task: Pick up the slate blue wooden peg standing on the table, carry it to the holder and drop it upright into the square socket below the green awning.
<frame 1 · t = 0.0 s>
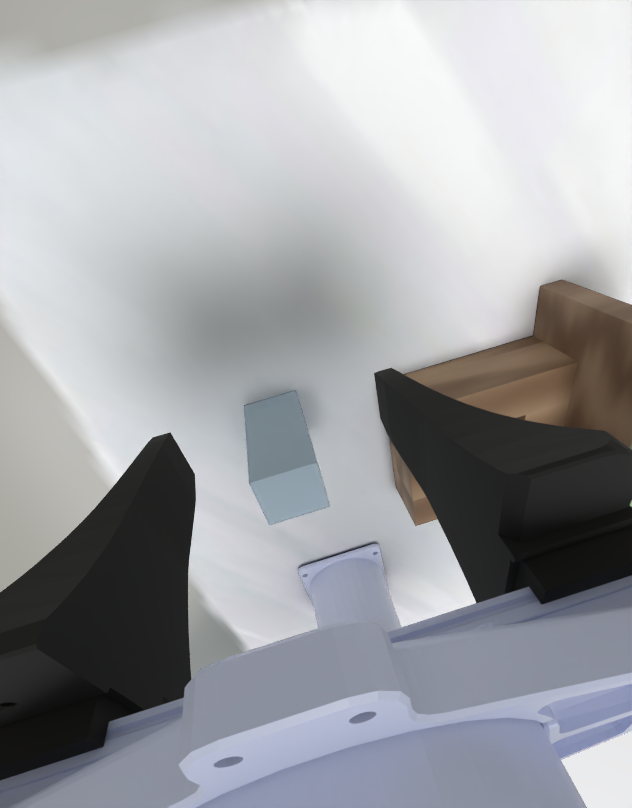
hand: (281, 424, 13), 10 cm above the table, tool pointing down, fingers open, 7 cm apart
socket holder: (457, 419, 28), on the table
peg: (277, 418, 25), on the table
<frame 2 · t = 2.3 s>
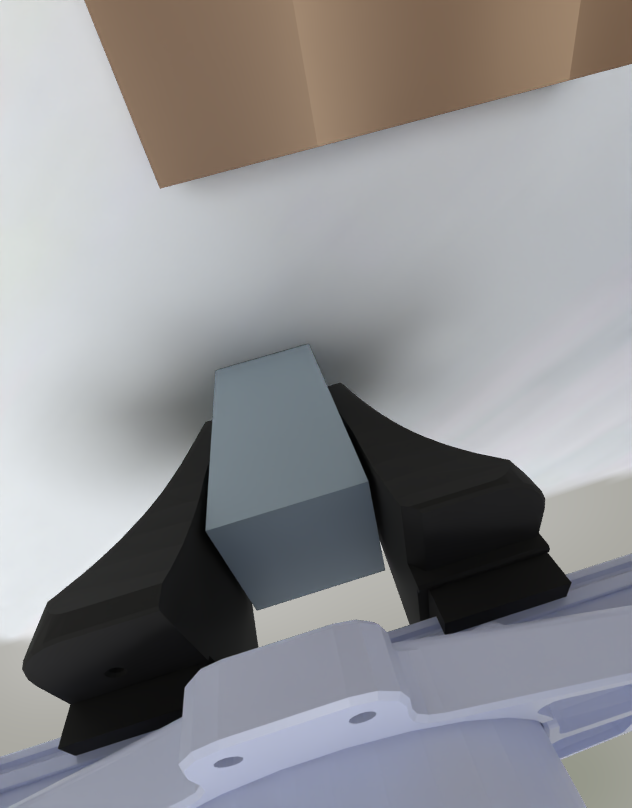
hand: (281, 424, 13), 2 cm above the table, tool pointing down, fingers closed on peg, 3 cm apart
peg: (275, 395, 14), on the table, touching gripper
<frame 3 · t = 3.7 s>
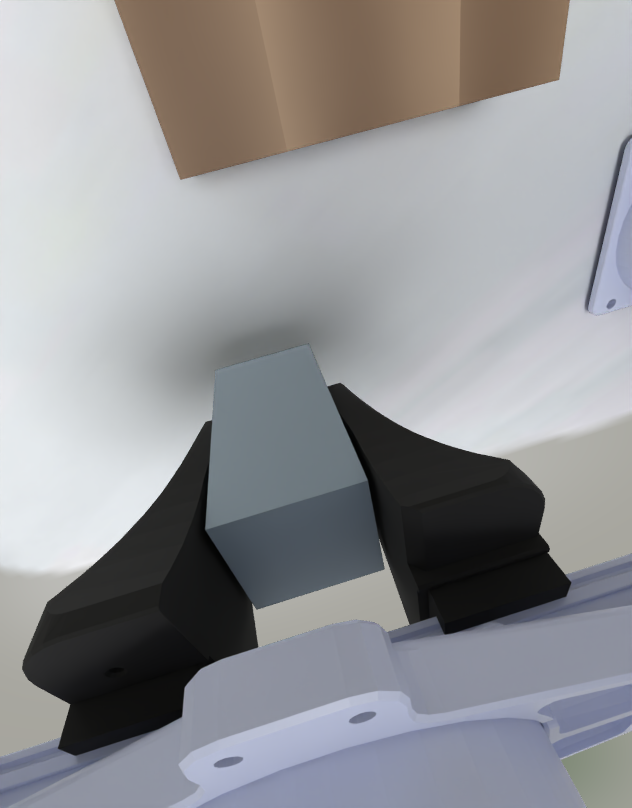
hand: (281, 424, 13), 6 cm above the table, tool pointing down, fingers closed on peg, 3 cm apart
peg: (275, 395, 14), point 4 cm above the table, touching gripper
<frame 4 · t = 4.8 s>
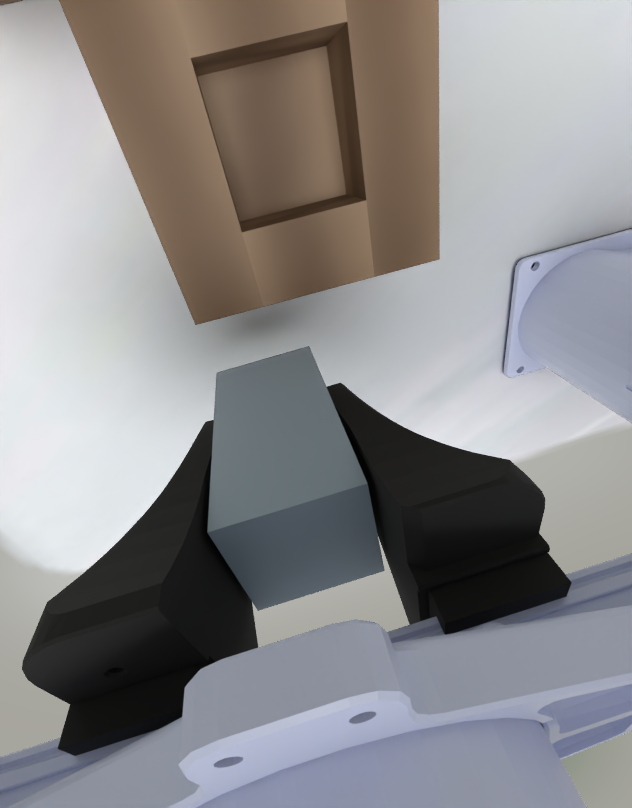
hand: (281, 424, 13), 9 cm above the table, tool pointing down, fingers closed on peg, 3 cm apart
socket holder: (276, 142, 16), on the table
peg: (276, 397, 14), point 7 cm above the table, touching gripper
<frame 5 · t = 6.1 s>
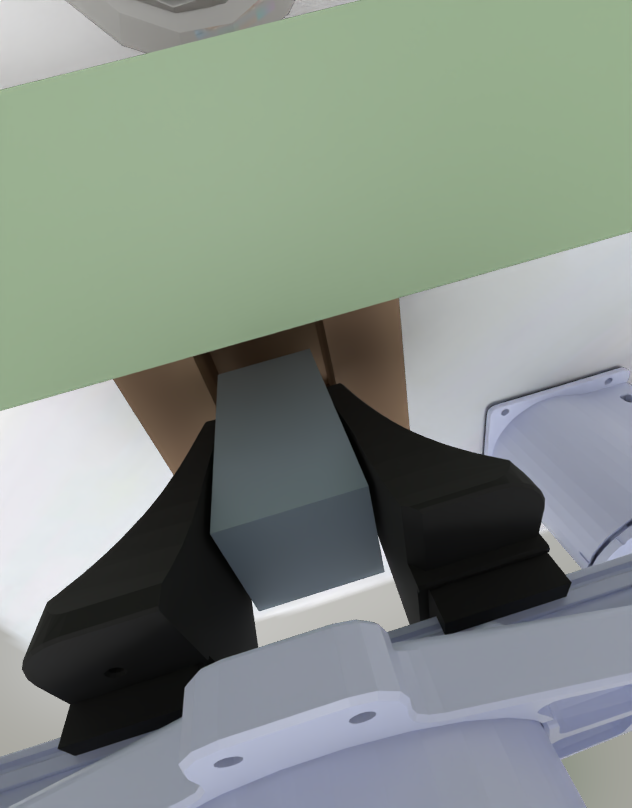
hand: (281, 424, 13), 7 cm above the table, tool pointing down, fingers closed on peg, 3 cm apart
socket holder: (266, 345, 18), on the table
peg: (276, 399, 15), point 5 cm above the table, touching gripper
when the fingers open (5 cm above the table, at t = 7.2 s): peg drops 2 cm, resting on socket holder.
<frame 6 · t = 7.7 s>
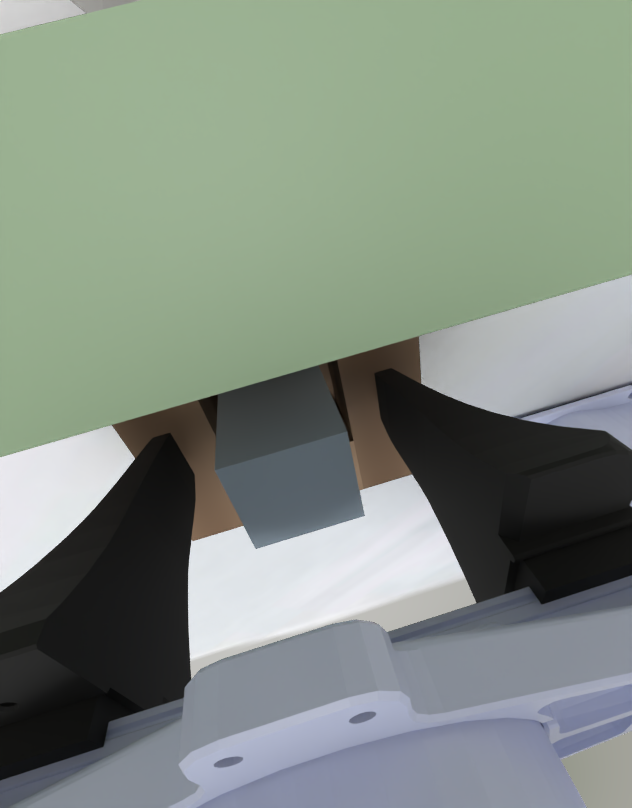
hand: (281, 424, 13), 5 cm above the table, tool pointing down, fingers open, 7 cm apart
socket holder: (268, 361, 17), on the table
peg: (273, 375, 16), point 1 cm above the table, touching socket holder
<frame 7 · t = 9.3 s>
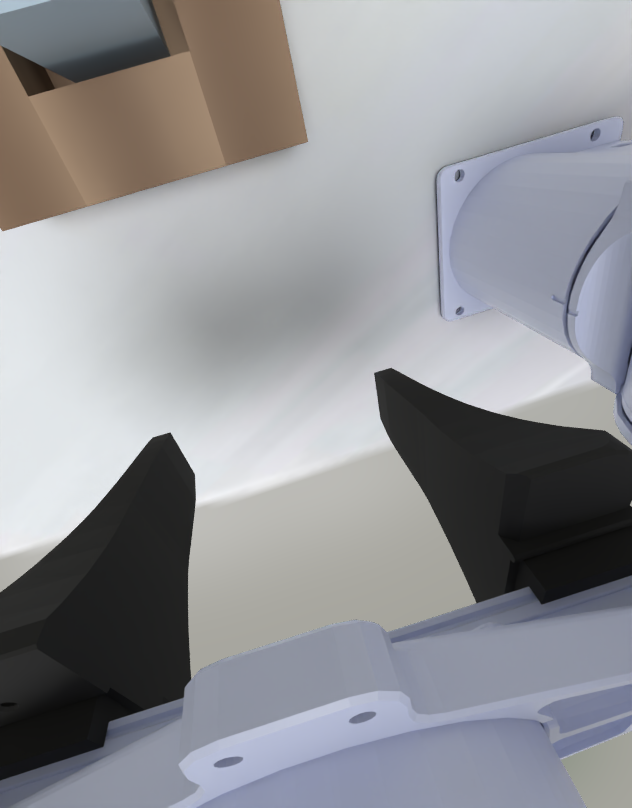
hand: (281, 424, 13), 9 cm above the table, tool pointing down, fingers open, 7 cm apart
socket holder: (100, 2, 13), on the table
peg: (96, 1, 12), point 1 cm above the table, touching socket holder
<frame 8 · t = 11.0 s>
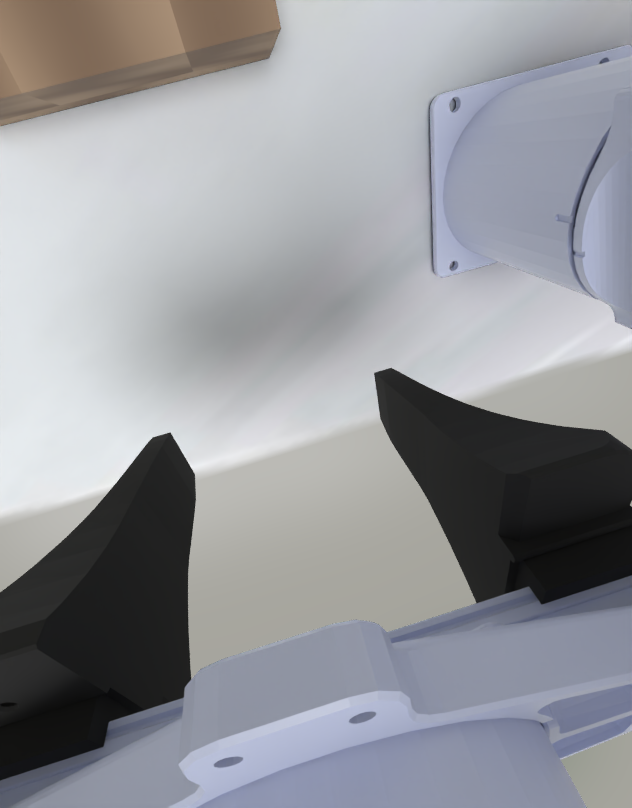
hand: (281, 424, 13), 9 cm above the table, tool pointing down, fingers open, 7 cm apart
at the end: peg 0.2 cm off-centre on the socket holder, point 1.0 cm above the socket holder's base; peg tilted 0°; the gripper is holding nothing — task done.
